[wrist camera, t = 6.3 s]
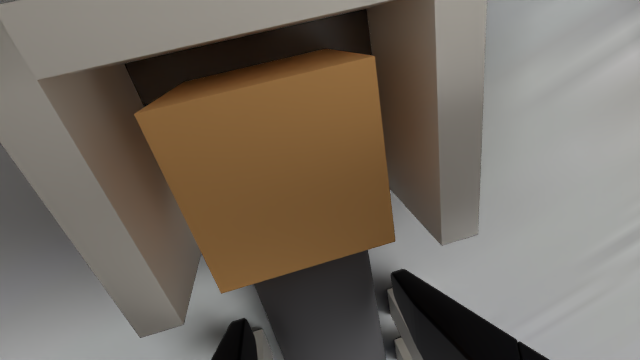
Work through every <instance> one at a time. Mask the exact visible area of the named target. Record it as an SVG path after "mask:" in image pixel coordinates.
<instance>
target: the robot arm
mask: <svg viewBox="0 0 640 360" xmlns="http://www.w3.org/2000/svg"><path fill="white" fill-rule="evenodd" d="M391 281H392V289H393V294H394V297H395V300H396V302H397V305H398V307H399V309H400V311H401V314H402V316H403V318H404V320H405V323H406V325H407V327H408V329H409V332H410V334H411V336H412V338H413V341H414V343H415V345H416V347H417V349H418V351H419V353H420V355H421V356H422V358H423V360H549V359H548V358H546V357H544V356H543V355H541V354H539V353H538V352H536V351H534V350H533V349H531V348H530V347H528V346H526V345H525V344H523V343H522V342H518V343H517V340H516V339H515V338H513V337H512V336H510V335H509V334H507V333H505V332H504V331H502V330H501V329H499V328H498V327H496V326H494V325H493V324H491V323H490V322H488V321H486V320H485V319H483V318H482V317H480V316H478V315H477V314H475V313H474V312H472V311H471V310H469V309H467V308H466V307H464V306H463V305H461V304H459V303H458V302H456V301H455V300H453V299H451V298H450V297H448V296H447V295H445V294H443V293H442V292H440V291H439V290H437V289H436V288H434V287H432V286H431V285H429V284H428V283H426V282H424V281H423V280H421V279H420V278H418V277H416V276H415V275H413V274H412V273H410V272H409V271H407V270H405V269H400V270H397V271H394V272H392V273H391ZM211 360H258V356H257V347H256V340H255V336H254V334H253V332H252V330H251V327H250V325H249V323H248V321H247V320H246V319H245V318H242V319H239V320H236V321H233V322H231V324H230V325H229V327H228V329H227V331H226V333H225V335H224V336H223V338H222V340H221V342H220V344H219V346H218V348H217V350H216V352H215V354H214V355H213V357H212V359H211Z"/></svg>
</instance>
